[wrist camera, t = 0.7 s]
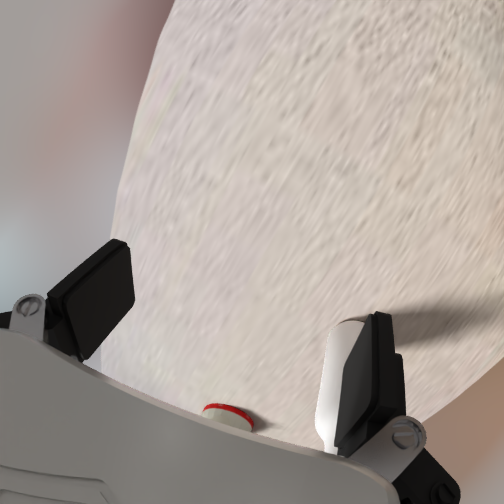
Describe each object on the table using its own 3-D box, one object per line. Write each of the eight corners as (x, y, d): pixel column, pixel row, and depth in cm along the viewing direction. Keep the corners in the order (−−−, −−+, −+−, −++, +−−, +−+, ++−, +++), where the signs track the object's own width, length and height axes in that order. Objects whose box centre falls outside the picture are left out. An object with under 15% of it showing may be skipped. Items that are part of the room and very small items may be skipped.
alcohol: (374, 314, 49) (369, 490, 24) (378, 351, 53) (370, 509, 28) (323, 321, 53) (289, 489, 28) (332, 356, 56) (304, 509, 31)
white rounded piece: (255, 434, 79) (239, 479, 66) (209, 424, 82) (190, 466, 70) (251, 409, 72) (233, 459, 59) (199, 398, 76) (177, 444, 63)
